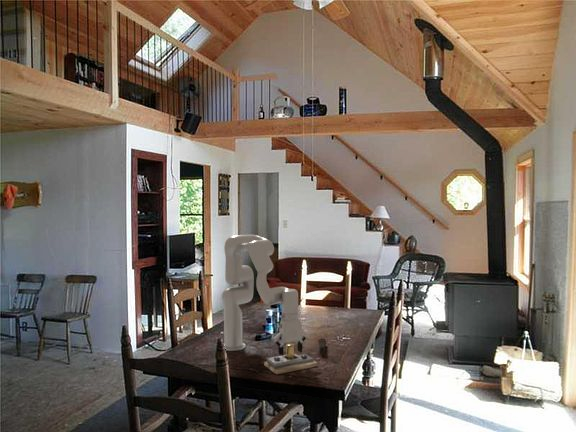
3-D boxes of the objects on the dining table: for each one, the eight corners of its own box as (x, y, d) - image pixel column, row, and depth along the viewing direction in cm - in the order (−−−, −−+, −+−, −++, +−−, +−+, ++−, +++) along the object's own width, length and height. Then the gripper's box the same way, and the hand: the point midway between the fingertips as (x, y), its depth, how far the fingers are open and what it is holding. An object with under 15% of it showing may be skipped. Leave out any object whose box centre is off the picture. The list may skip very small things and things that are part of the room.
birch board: (264, 365, 197) (264, 361, 197) (303, 357, 207) (303, 354, 207) (276, 374, 186) (276, 371, 186) (317, 366, 196) (317, 362, 196)
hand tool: (318, 345, 227) (318, 336, 227) (326, 345, 226) (325, 337, 226) (316, 357, 208) (315, 348, 208) (324, 357, 207) (324, 348, 207)
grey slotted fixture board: (267, 363, 195) (267, 356, 195) (305, 356, 205) (305, 349, 205) (274, 368, 188) (274, 361, 188) (313, 361, 198) (313, 354, 198)
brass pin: (284, 361, 197) (284, 344, 197) (292, 360, 199) (292, 343, 199) (288, 364, 194) (288, 346, 194) (296, 362, 196) (296, 345, 196)
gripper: (276, 320, 189) (277, 358, 189) (310, 315, 197) (310, 352, 197) (269, 316, 196) (270, 353, 196) (302, 312, 204) (302, 348, 204)
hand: (290, 353), depth 196 cm, fingers open, 9 cm apart
